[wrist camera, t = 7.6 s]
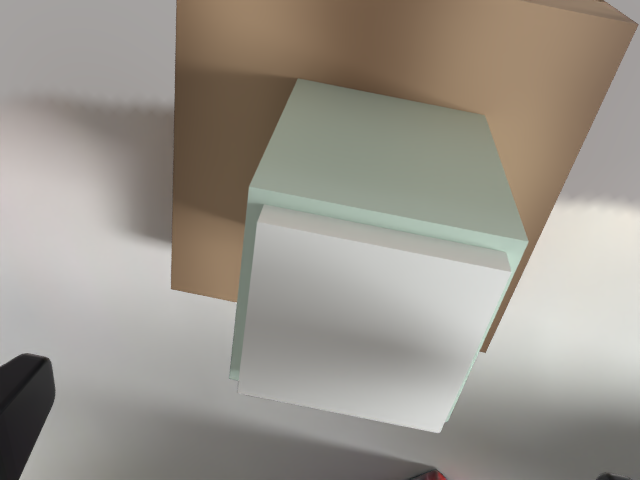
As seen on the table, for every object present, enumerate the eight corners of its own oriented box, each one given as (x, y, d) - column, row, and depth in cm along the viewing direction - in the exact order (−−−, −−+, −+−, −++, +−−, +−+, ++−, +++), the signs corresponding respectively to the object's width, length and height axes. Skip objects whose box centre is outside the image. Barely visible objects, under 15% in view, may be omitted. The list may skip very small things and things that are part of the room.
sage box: (484, 115, 15) (535, 261, 10) (433, 265, 18) (449, 444, 12) (297, 78, 15) (241, 203, 10) (275, 234, 18) (222, 399, 12)
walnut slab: (600, -2, 16) (638, 24, 13) (475, 297, 22) (485, 352, 20) (212, -80, 16) (178, -68, 13) (196, 240, 22) (171, 289, 20)
